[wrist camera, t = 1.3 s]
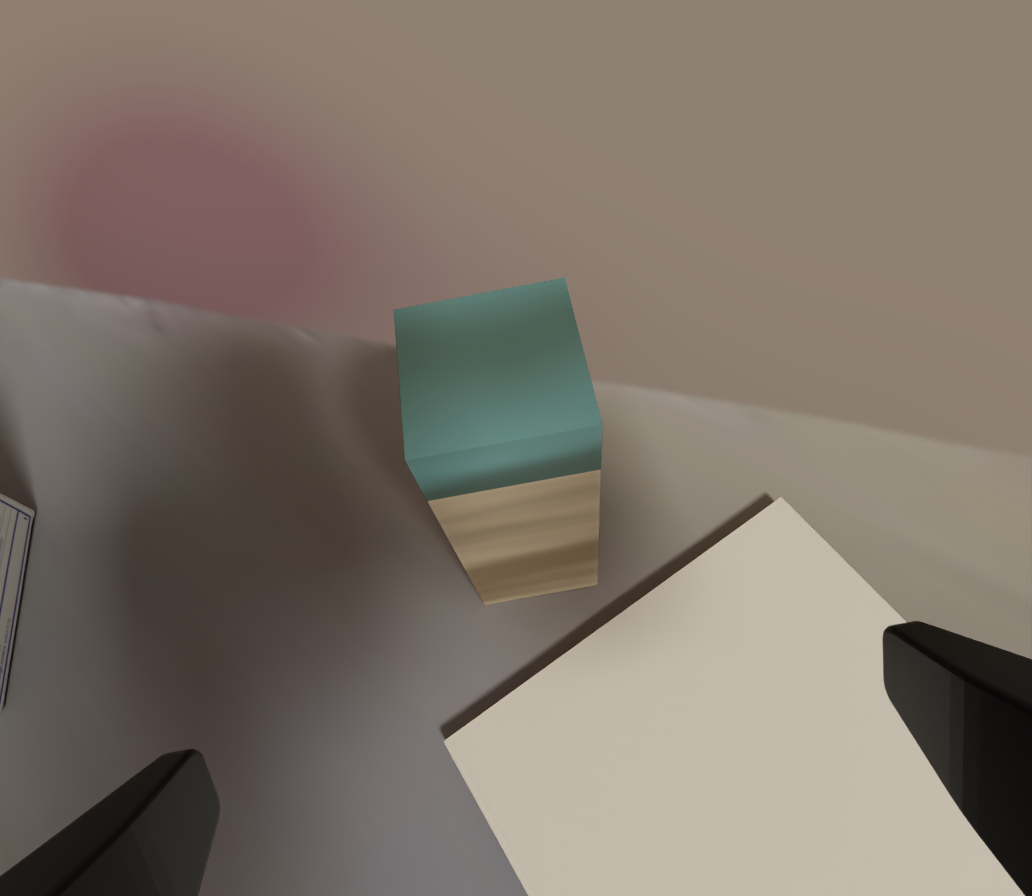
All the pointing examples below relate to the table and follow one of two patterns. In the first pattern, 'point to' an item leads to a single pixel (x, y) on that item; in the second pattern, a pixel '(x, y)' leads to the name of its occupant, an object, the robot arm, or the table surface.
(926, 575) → the table surface
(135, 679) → the table surface
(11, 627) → the medicine box
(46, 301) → the table surface
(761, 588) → the cream square tile
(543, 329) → the birch block
